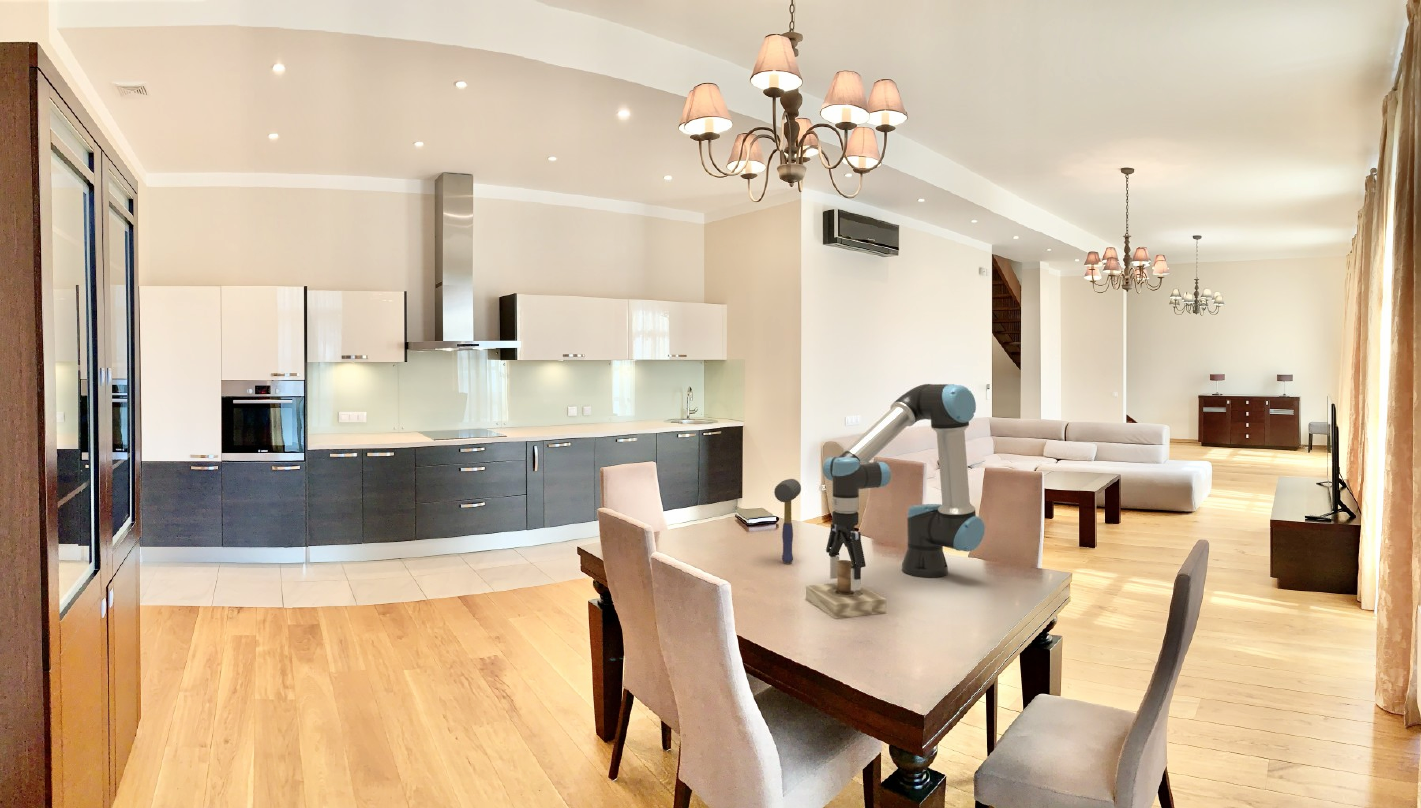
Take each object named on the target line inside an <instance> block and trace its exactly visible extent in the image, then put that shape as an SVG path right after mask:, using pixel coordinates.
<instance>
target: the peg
mask: <svg viewBox="0 0 1421 808" xmlns="http://www.w3.org/2000/svg"><path fill="white" fill-rule="evenodd" d="M851 566H852V563H851V560H846V559H841V560H840V559H839V561H838V578H836V579H837V582H836V583H837V591H838V592H839V594H840V595H851V592H852V590H851Z"/></svg>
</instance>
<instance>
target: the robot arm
mask: <svg viewBox="0 0 1421 808" xmlns="http://www.w3.org/2000/svg"><path fill="white" fill-rule="evenodd" d="M974 396H975V395H974V394H973V392H972V391H971V390H970V389H969V388H967V387H966V386H964V385H961V384H960V385H959V384H954V383H953V384H952V383H950V384H949V383H948V384H947V383H943V384H941V383H939V384H937V383H936V384H935V383H934V384H933V383H925V384H921V385H918V386H915V387H913V388H911V389H909V390H908V391H906V392H905V393H903V394H902V395H901V396H899V397H898V398H897V399H896V400H895V401H893V403H892V404H890V409H889V410H888V411H887V412H886V413H885V414H884V415H883V416H882V417H881V418H880V419H878V421H876V422H875V423H874V424H873V425H872V426H871V427H870V428H868V429H867V430H866V431H865V432H864V433H863V434H862V435H861V436H860V437H859V438H858V439H857V440H855V442H854V443H852V444H851V445H850V446H849V447H848V448H847V449H846V450H845V451H844V452H842V454H840V455H839V456H838V457H837V456H832V457H828V458H827V459H826V460H825V461H824V463H823V466H822V473H823V476H824V477H825V479H827V480H828V481H832V500H831V503H832V509H833V511H832V512H831V514H832V515H831V516H832V518H831V521H832V522H831V524H830V532H829V535H828V540H827V544H826V549H825V552H826V554H827V553H828V556H829V579H830V580H834V579H837V578H838V561H839V560H840V550H841V548H842V547H843V545H844V547H845V548H846V549H847V553H848V556H849V558H850V561H851V563H852V566H851V590H852V591H855V590H861V586H862V584H861V583H862V579H861V578H862V574H861V573H862V568H865V567H866V566H867V565H866V560H865V559H866V558H865V554H864V549H863V543H862V536H861V535H862V534H861V532H860V531H855V527H856V526H857V525H859V512H858V511H859V509H860V508H859V505H860V504H859V499H860V498H859V497H860V496H859V493H860V490H863V489H879V488H883V487H886V486H887V485H889V483H890V481H891V479H892V475H891V474H892V472H891V468H890V467H889V465H888V463H885V462H883V461H873V462H872V461H871V460H873V458H875V457H876V456H878V454H879V453H881V451H882V450H883V449H884V448H886V446H888V444H890V443H891V442H892V441H893V440H894V439H895V438H896V437H897V436H898V435H899V434H901V432H902V431H904V430H905V429H906V428H907V427H912V426H914V424H916V423H917V422H919V421H922V420H930V427H931V429H933V431H934V432H935V433H936V439H937V453H938V454H937V455H938V467H939V479H940V493H941V503H942V504H941V503H928V504H915V505H911V506H909V508H908V510H907V517H906V520H907V521H906V522H907V548H906V552H905V554H904V558H903V560H902V563H901V571H902V572H903V573H905V574H906V575H910V576H914V577H920V578H940V577H945V576H947V575H948V573H949V567H948V563H947V559H946V556H945V554H944V550H943V549H944V548H943V547H945V548H949V549H953V550H955V551H962V552H972V551H975V550H976V549H977V548H978V547H979V546H980V545H981V542H982V541H983V539H984V536H985V532H986V531H985V529H986V525H985V522H984V521H983V519H982V518H980V517H979V516H977V515H976V514H977V513H976V507H975V506H974V505H973V504H972V503H971V502H970V487H969V486H970V485H969V472H968V460H967V448H966V447H967V446H966V435H965V434H966V433H965V431H966V429H968V428H969V426H970V421H972V420H973V418H974V417H975V413H976V409H977V404H976V399H975V397H974ZM870 461H871V462H870Z"/></svg>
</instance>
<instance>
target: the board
mask: <svg viewBox="0 0 1421 808" xmlns="http://www.w3.org/2000/svg"><path fill="white" fill-rule="evenodd" d="M805 600H806V601H808V602H809V603H811V604H812V605H814V606H815V607H817V608H819V609H820V610H822V611H823V612H824V613H826V614H827V615H829V616H831V617H832V618H833V619H843V618H853V617H861V616H863V617H864V616H870V615H871V616H872V615H879V614H886V613H887V598H885V597H883V596H881V595H880V594H878V593H876V592H874V591H872V590H871V589H868V588H866V587H864V586H863V585H861V590H855V591H852V592H851V595H840V594H839V592H838V591H837V582H833V583H824V584H822V583H820V584H813V585H805Z"/></svg>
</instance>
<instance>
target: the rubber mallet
mask: <svg viewBox="0 0 1421 808" xmlns="http://www.w3.org/2000/svg"><path fill="white" fill-rule="evenodd" d="M801 491H802V486H801V483H800V482H799V481H798V480H797V479H795V478H788V479H784V480H782V481H780V482H779V483H778V484H777V485H776V486H775V488H774V492H773V495H774V496H775V498H776V499H777V501H778V502H781V503H784V508H783V509H784V511H783V512H784V514H783V515H784V516H783V517H784V519H783V525H782V533H781V537H782V538H781V539H782V556H781V560H782V562H783V563H784V564H785V565H790V564H792V563H793V561H794V554H793V540H794V529H793V524H792V523H793V522H792V501H793V500H795V499H796V498H797V497H798V496H800V494H801Z"/></svg>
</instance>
